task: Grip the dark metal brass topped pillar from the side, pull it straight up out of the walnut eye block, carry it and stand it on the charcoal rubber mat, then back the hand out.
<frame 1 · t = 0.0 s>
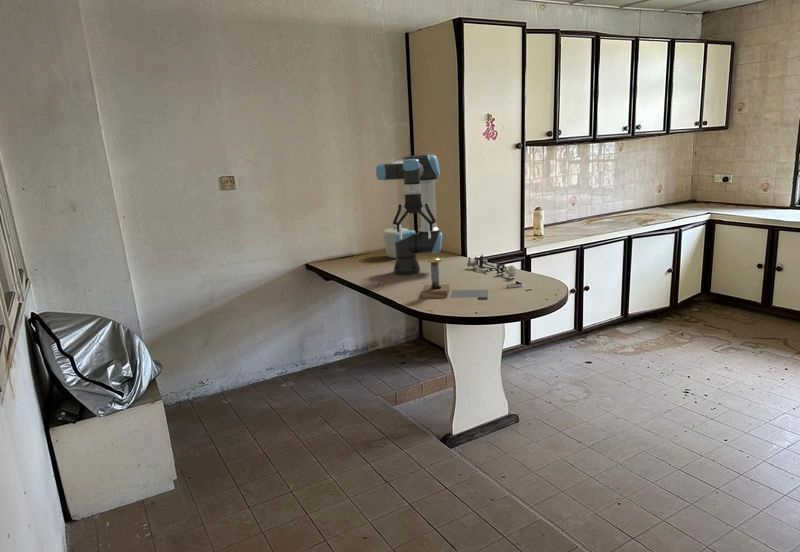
hand: (415, 238, 264), 28 cm above the table, tool pointing down, fingers open, 13 cm apart
canister: (397, 257, 362), on the table
mat: (469, 295, 265), on the table
bike brake: (485, 270, 314), on the table
eye block: (436, 295, 268), on the table
valve: (507, 277, 296), on the table
brass topped pillar: (435, 293, 268), point 1 cm above the table, touching eye block
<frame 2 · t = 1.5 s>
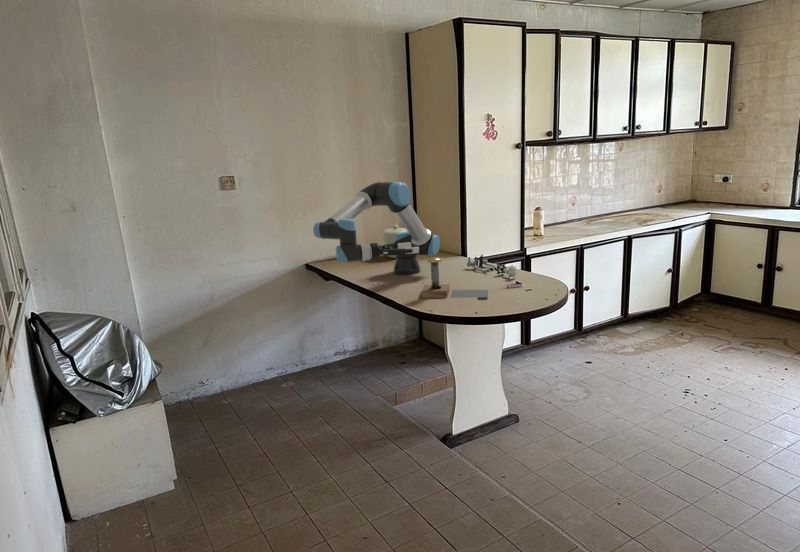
hand: (414, 247, 261), 25 cm above the table, tool horizontal, fingers open, 13 cm apart
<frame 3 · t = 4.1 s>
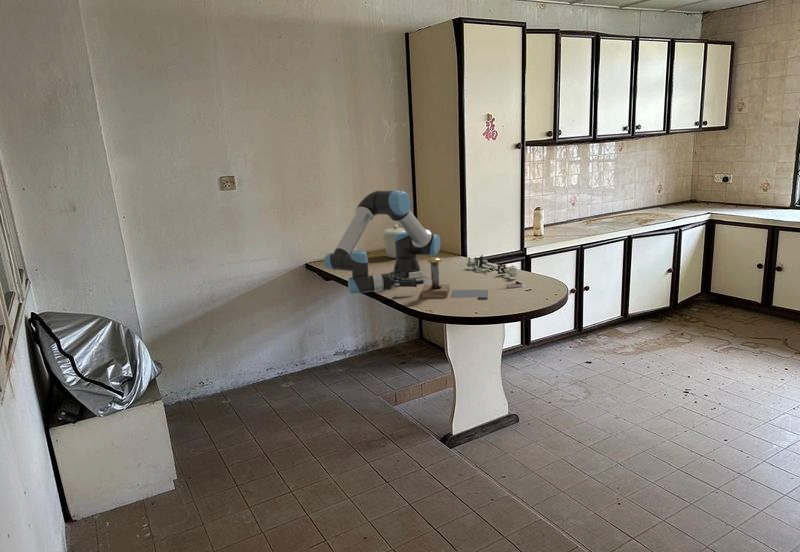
hand: (425, 277, 264), 10 cm above the table, tool horizontal, fingers open, 13 cm apart
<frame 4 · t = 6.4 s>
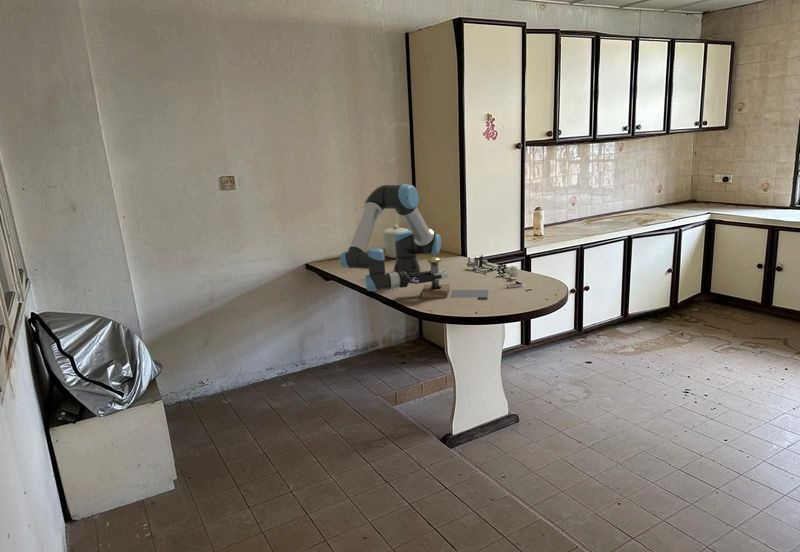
hand: (445, 274, 267), 10 cm above the table, tool horizontal, fingers closed on brass topped pillar, 3 cm apart
brass topped pillar: (435, 293, 268), point 1 cm above the table, touching eye block, gripper
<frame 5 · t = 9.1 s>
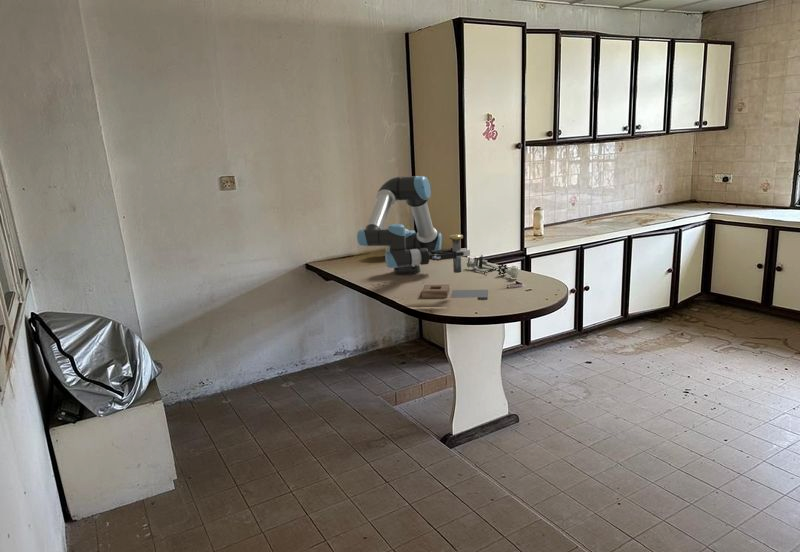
hand: (468, 251, 261), 21 cm above the table, tool horizontal, fingers closed on brass topped pillar, 3 cm apart
brass topped pillar: (457, 271, 262), point 12 cm above the table, touching gripper
when the fingers open (11 cm above the table, at t = 11.9 s): brass topped pillar drops 1 cm, resting on mat.
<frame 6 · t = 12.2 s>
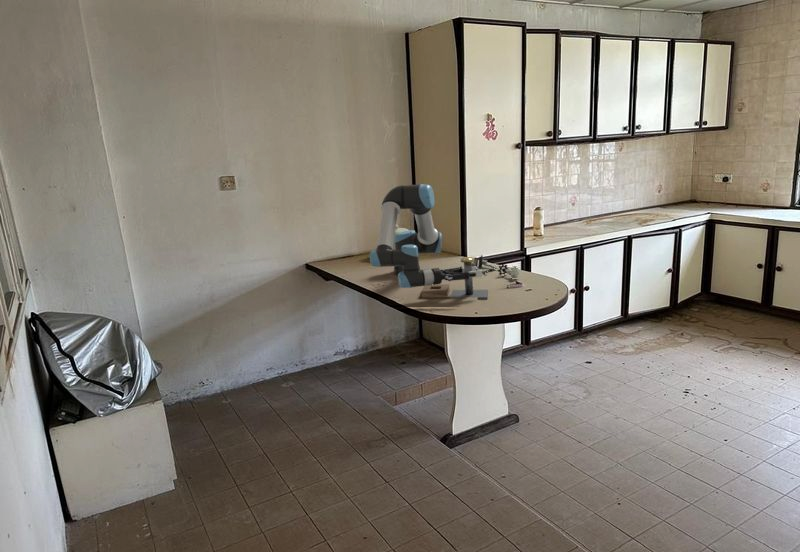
hand: (478, 271, 263), 11 cm above the table, tool horizontal, fingers open, 7 cm apart
brass topped pillar: (469, 294, 264), point 1 cm above the table, touching mat
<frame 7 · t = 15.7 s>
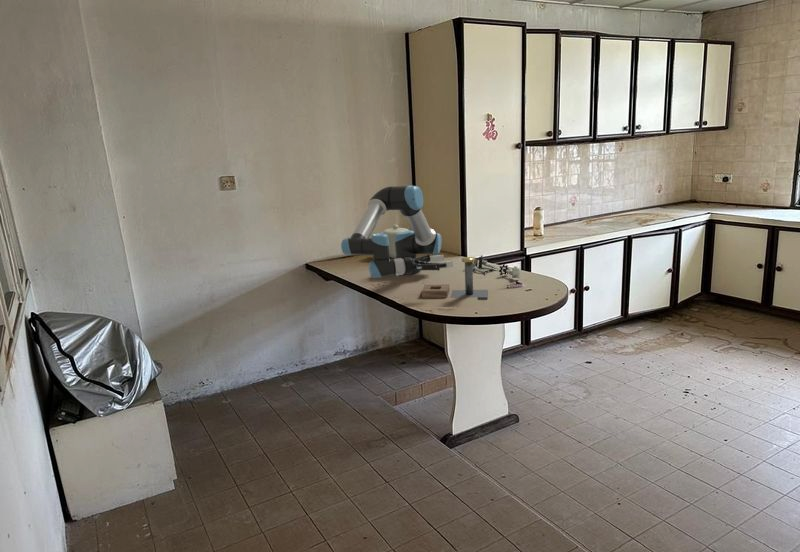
hand: (448, 260, 258), 18 cm above the table, tool horizontal, fingers open, 13 cm apart
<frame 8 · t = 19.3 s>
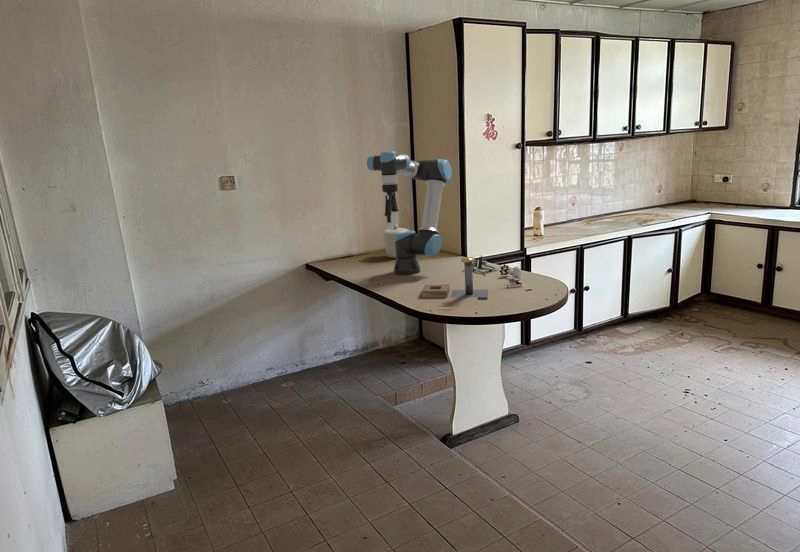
hand: (392, 226, 279), 32 cm above the table, tool pointing down, fingers open, 13 cm apart
at the end: brass topped pillar inside the target area on the mat (1.0 cm from its centre), point 1.0 cm above the mat's base; brass topped pillar moved 16.0 cm from its start; the gripper is holding nothing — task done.
